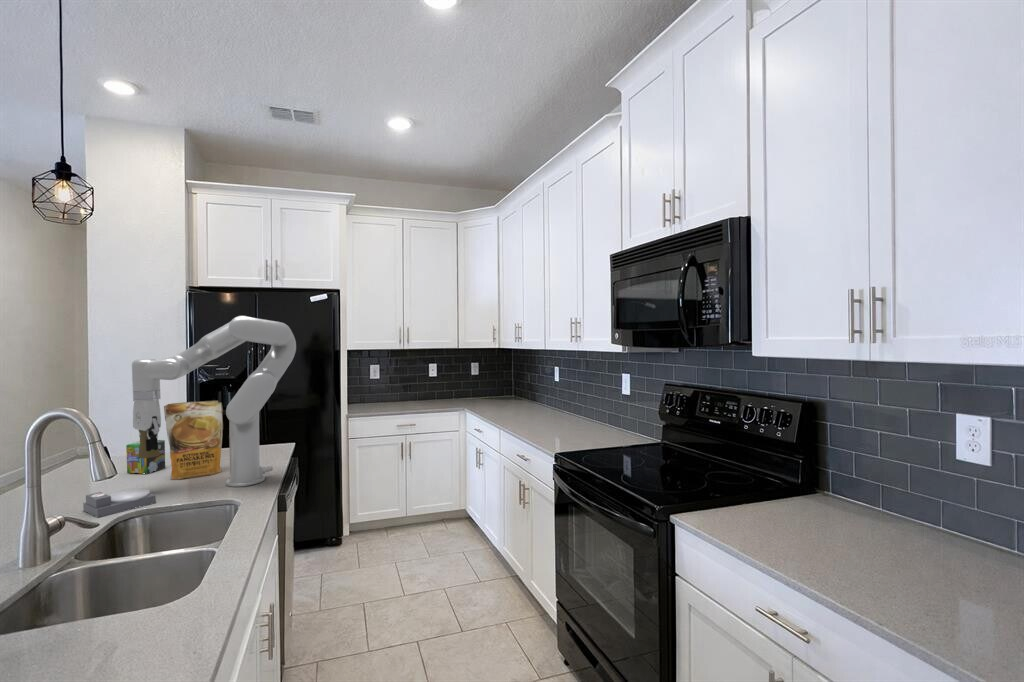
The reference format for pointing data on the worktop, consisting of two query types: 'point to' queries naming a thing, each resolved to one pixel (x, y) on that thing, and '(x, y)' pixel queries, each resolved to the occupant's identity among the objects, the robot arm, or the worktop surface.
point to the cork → (142, 447)
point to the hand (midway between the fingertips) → (149, 449)
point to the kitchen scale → (117, 501)
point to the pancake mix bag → (194, 438)
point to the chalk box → (144, 459)
